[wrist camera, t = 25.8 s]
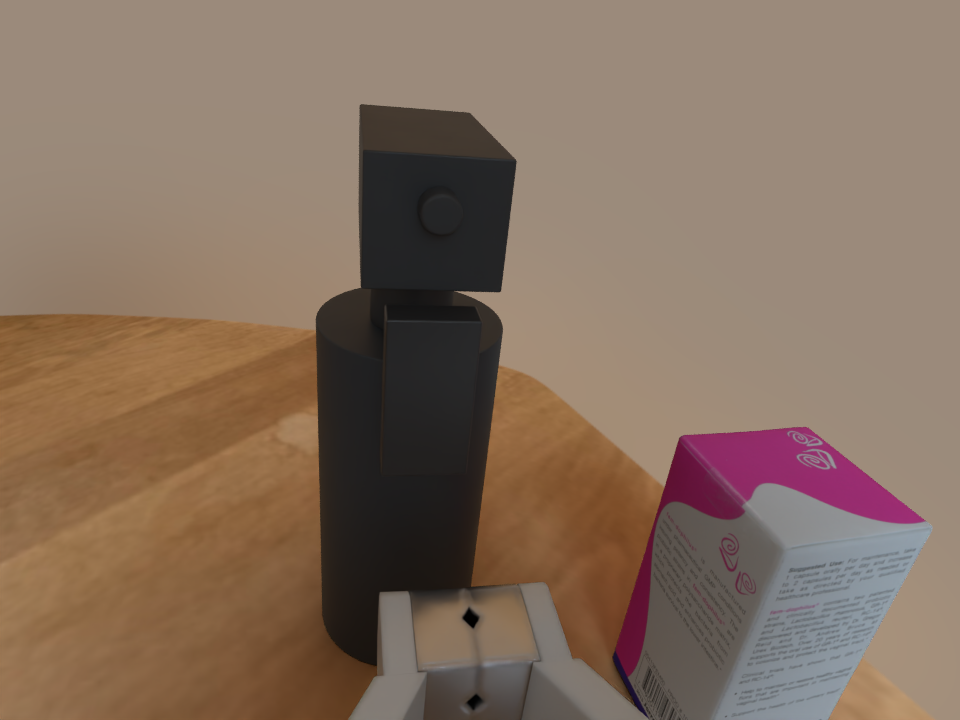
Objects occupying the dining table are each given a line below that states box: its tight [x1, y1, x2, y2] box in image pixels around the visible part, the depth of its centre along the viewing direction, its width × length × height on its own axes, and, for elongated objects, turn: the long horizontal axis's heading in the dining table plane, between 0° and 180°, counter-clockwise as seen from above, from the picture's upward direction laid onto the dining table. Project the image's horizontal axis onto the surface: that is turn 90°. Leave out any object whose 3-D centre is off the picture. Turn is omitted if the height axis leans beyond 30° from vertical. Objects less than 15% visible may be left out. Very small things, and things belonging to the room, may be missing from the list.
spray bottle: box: [316, 104, 516, 665], centre depth 23 cm, size 9×6×21 cm
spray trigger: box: [380, 304, 482, 476], centre depth 18 cm, size 1×2×5 cm, turn 100°
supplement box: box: [613, 427, 932, 720], centre depth 24 cm, size 6×6×12 cm
